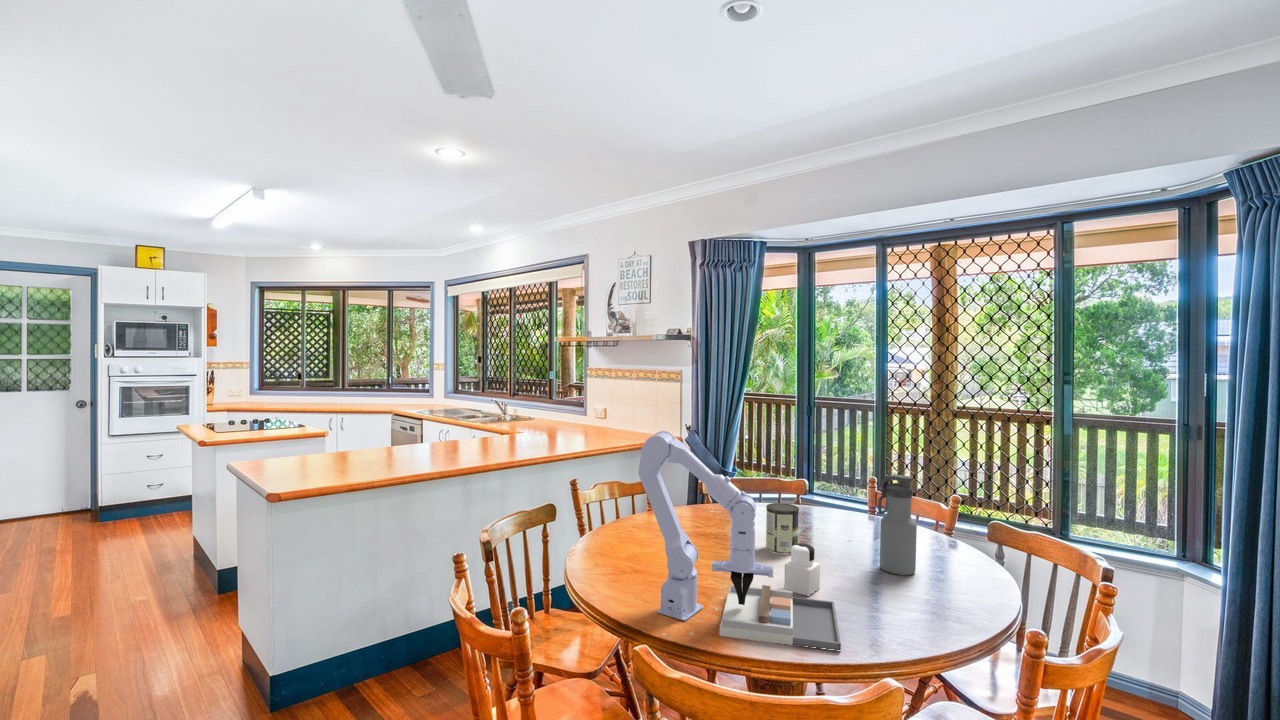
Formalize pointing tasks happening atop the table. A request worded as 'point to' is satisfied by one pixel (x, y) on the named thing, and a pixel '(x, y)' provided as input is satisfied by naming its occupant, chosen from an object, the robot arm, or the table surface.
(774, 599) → the tile
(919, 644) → the table surface
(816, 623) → the box
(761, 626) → the white rimmed panel
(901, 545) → the water bottle
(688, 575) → the robot arm
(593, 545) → the table surface
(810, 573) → the medicine bottle
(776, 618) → the tile
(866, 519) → the table surface
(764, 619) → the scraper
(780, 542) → the coffee can
